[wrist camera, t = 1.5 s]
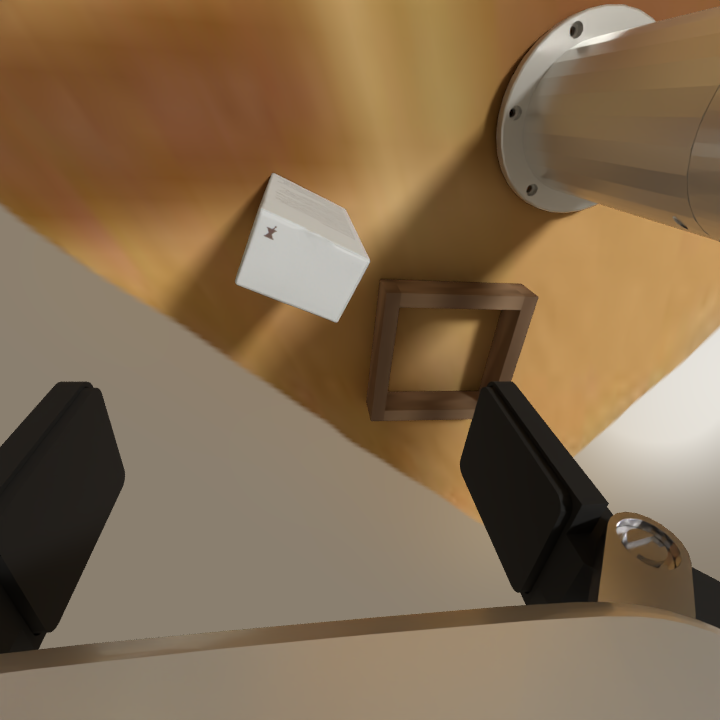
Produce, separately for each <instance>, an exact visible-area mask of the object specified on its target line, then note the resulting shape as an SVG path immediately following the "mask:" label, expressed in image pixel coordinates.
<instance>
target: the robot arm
mask: <svg viewBox="0 0 720 720" xmlns="http://www.w3.org/2000/svg"><path fill="white" fill-rule="evenodd" d="M570 28H571V30H572V33H571V35H570ZM511 109H512V110H513V114H512V116H511V117H509V112H510V110H511ZM496 142H497V155H498V159H499V163H500V167H501V171H502V173H503V175H504V177H505V179H506V181H507V183H508V185H509V186H510V187H511V189H512V190H513V191H514V192H515V194H516V195H517V196H519V197H520V198H521V199H522V200H524V201H525V202H526V203H528V204H530V205H532V206H534V207H536V208H539V209H542V210H545V211H549V212H556V213H569V212H576V211H581V210H584V209H587V208H589V207H592V206H595V205H597V204H601V205H604V206H607V207H610V208H614V209H617V210H620V211H623V212H626V213H630V214H633V215H636V216H639V217H642V218H646V219H649V220H652V221H655V222H658V223H662V224H665V225H668V226H671V227H674V228H678V229H681V230H684V231H687V232H691V233H694V234H697V235H700V236H703V237H707V238H710V239H713V240H716V241H719V242H720V6H719V7H715V8H711V9H707V10H702V11H698V12H694V13H690V14H686V15H682V16H678V17H674V18H670V19H666V20H662V21H658V22H656V21H655V20H654V19H653V18H652V17H650V16H649V15H647V14H646V13H644V12H643V11H641V10H640V9H637V8H634V7H630V6H627V5H618V4H606V5H601V6H597V7H593V8H589V9H586V10H583V11H581V12H578V13H576V14H573V15H571V16H569V17H568V18H566V19H564V20H563V21H561V22H559V23H558V24H556V25H555V26H553V27H552V28H551V29H550V30H549V31H547V32H546V33H545V34H544V35H543V36H542V37H541V38H540V39H538V40H537V41H536V43H535V44H534V45H533V46H532V48H531V49H530V50H529V51H528V52H527V54H526V55H525V56H524V57H523V59H522V60H521V62H520V64H519V65H518V67H517V69H516V70H515V72H514V74H513V75H512V77H511V80H510V82H509V84H508V87H507V89H506V92H505V94H504V96H503V100H502V104H501V108H500V112H499V115H498V123H497V133H496ZM528 186H529V189H528V190H527V188H528ZM526 190H527V191H526ZM460 470H461V473H462V476H463V478H464V480H465V483H466V485H467V487H468V489H469V492H470V494H471V496H472V498H473V501H474V503H475V505H476V507H477V510H478V512H479V514H480V516H481V519H482V521H483V523H484V525H485V528H486V530H487V532H488V534H489V536H490V539H491V541H492V543H493V546H494V548H495V550H496V552H497V555H498V557H499V559H500V561H501V563H502V566H503V568H504V570H505V572H506V575H507V577H508V579H509V581H510V584H511V586H512V587H513V589H514V590H515V591H516V592H518V593H519V592H520V593H521V595H522V597H523V600H524V602H525V604H526V605H521V606H506V607H493V608H481V609H470V610H459V611H446V612H434V613H422V614H411V615H399V616H387V617H376V618H364V619H353V620H343V621H330V622H320V623H308V624H297V625H286V626H276V627H264V628H253V629H243V630H232V631H220V632H210V633H200V634H189V635H179V636H168V637H158V638H146V639H136V640H126V641H115V642H105V643H94V644H84V645H75V646H67V647H57V648H48V649H40V650H38V649H39V647H40V645H41V643H42V641H43V639H44V637H45V635H46V633H47V632H52V631H53V630H54V629H55V628H56V627H57V625H58V623H59V622H60V619H61V617H62V615H63V613H64V610H65V609H66V607H67V605H68V602H69V600H70V598H71V596H72V594H73V592H74V589H75V587H76V585H77V583H78V581H79V579H80V577H81V575H82V572H83V570H84V568H85V566H86V564H87V562H88V560H89V558H90V555H91V553H92V551H93V549H94V547H95V545H96V543H97V540H98V538H99V536H100V534H101V532H102V530H103V528H104V525H105V523H106V521H107V519H108V517H109V515H110V513H111V510H112V508H113V506H114V504H115V502H116V500H117V498H118V496H119V493H120V491H121V489H122V487H123V484H124V480H125V471H124V467H123V464H122V461H121V457H120V454H119V450H118V447H117V444H116V440H115V437H114V433H113V430H112V426H111V423H110V420H109V416H108V413H107V409H106V406H105V403H104V399H103V396H102V393H101V391H100V390H99V389H98V388H93V386H92V385H91V383H89V382H59V383H57V384H56V385H55V386H54V387H53V388H52V389H51V390H50V392H49V393H48V394H47V395H46V396H45V397H44V398H43V400H41V402H40V403H39V404H38V405H37V406H36V408H35V409H34V410H33V411H32V412H31V413H30V414H29V415H28V416H27V417H26V419H25V420H24V421H23V422H22V423H21V424H20V425H19V426H18V428H17V429H16V430H15V431H14V432H13V433H12V434H11V435H10V437H9V438H8V439H7V440H6V441H5V442H4V444H2V446H1V447H0V720H720V582H719V581H717V580H716V579H714V578H712V577H710V576H708V575H706V574H704V573H702V572H700V571H698V570H696V569H694V568H693V567H692V565H691V560H690V556H689V553H688V551H687V550H686V548H685V547H684V545H683V544H682V542H681V541H680V540H679V539H678V538H677V537H676V536H675V535H674V534H673V533H672V532H671V531H669V530H668V529H667V528H665V527H664V526H662V525H661V524H659V523H658V522H656V521H654V520H652V519H650V518H648V517H645V516H643V515H640V514H637V513H630V512H622V513H617V514H615V515H613V514H612V513H611V512H610V510H609V509H608V508H607V506H608V504H609V503H608V502H607V501H606V499H605V498H604V497H603V496H602V494H601V493H600V492H599V490H598V489H597V488H596V487H595V485H594V484H593V483H592V481H591V480H590V479H589V478H588V476H587V475H586V474H585V473H584V471H583V470H582V469H581V467H580V466H579V465H578V464H577V462H576V461H575V460H574V459H573V457H572V456H571V455H570V453H569V452H568V451H567V450H566V448H565V447H564V446H563V445H562V443H561V442H560V441H559V439H558V438H557V437H556V436H555V434H554V433H553V432H552V431H551V429H550V428H549V427H548V425H547V424H546V423H545V422H544V420H543V419H542V418H541V416H540V415H539V414H538V413H537V411H536V410H535V409H534V408H533V406H532V405H531V404H530V402H529V401H528V400H527V399H526V397H525V396H524V395H523V394H522V392H521V391H520V390H519V388H518V387H517V386H516V385H515V384H514V383H513V382H511V381H491V382H489V383H488V384H487V387H483V388H482V389H481V391H480V394H479V397H478V401H477V404H476V408H475V411H474V415H473V418H472V422H471V425H470V428H469V432H468V435H467V439H466V442H465V446H464V449H463V453H462V456H461V460H460Z"/></svg>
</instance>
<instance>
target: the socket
mask: <svg viewBox="0 0 720 720" xmlns="http://www.w3.org/2000/svg"><path fill="white" fill-rule="evenodd" d="M537 300H538V296H537V295H535V294H534V293H533V292H531V291H530V290H529V289H528V288H526V287H525V286H524V285H522V284H510V283H480V282H450V281H420V280H390V279H380V283H379V292H378V301H377V310H376V319H375V328H374V337H373V346H372V355H371V364H370V373H369V382H368V391H367V400H366V403H367V407H368V411H369V415H370V420H371V421H403V420H451V419H472V418H473V415H474V411H475V408H476V404H477V401H478V397H479V394H480V391H481V389H482V388H483V387H487V384H488V383H489V382H491V381H511V380H512V377H513V374H514V371H515V368H516V364H517V361H518V358H519V355H520V352H521V349H522V346H523V343H524V340H525V337H526V334H527V331H528V328H529V325H530V322H531V318H532V315H533V312H534V309H535V306H536V303H537ZM400 307H408V308H452V309H496V310H501V314H500V317H499V321H498V324H497V328H496V331H495V335H494V338H493V342H492V346H491V349H490V353H489V356H488V360H487V363H486V367H485V370H484V374H483V378H482V381H481V385H480V388H479V391H419V392H388V385H389V378H390V371H391V364H392V357H393V350H394V343H395V336H396V329H397V322H398V315H399V308H400Z"/></svg>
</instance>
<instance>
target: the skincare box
mask: <svg viewBox="0 0 720 720" xmlns="http://www.w3.org/2000/svg"><path fill="white" fill-rule="evenodd" d="M369 263H370V259H369V257H368V255H367V253H366V251H365V249H364V247H363V245H362V243H361V241H360V238H359V236H358V234H357V232H356V230H355V228H354V226H353V224H352V222H351V220H350V217H349V215H348V213H347V211H346V209H344V208H342V207H340V206H338V205H336V204H335V203H333V202H331V201H329V200H327V199H325V198H323V197H321V196H319V195H317V194H315V193H313V192H311V191H309V190H307V189H305V188H303V187H301V186H299V185H297V184H295V183H293V182H291V181H289V180H287V179H285V178H283V177H281V176H279V175H277V174H275V173H272V175H271V177H270V180H269V182H268V185H267V187H266V190H265V193H264V195H263V198H262V201H261V203H260V206H259V209H258V212H257V215H256V218H255V221H254V224H253V227H252V230H251V233H250V236H249V239H248V242H247V245H246V248H245V251H244V254H243V257H242V261H241V264H240V267H239V270H238V273H237V276H236V279H235V283H236V284H237V285H238V286H241V287H244V288H246V289H249V290H251V291H254V292H257V293H259V294H262V295H264V296H267V297H270V298H272V299H275V300H278V301H280V302H283V303H285V304H288V305H291V306H294V307H296V308H299V309H302V310H304V311H307V312H310V313H312V314H315V315H318V316H320V317H323V318H325V319H328V320H331V321H333V322H335V323H337V322H338V321H339V319H340V317H341V315H342V313H343V312H344V310H345V308H346V306H347V304H348V302H349V300H350V299H351V297H352V295H353V293H354V291H355V289H356V287H357V286H358V284H359V282H360V280H361V278H362V276H363V274H364V273H365V271H366V269H367V267H368V265H369Z"/></svg>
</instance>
